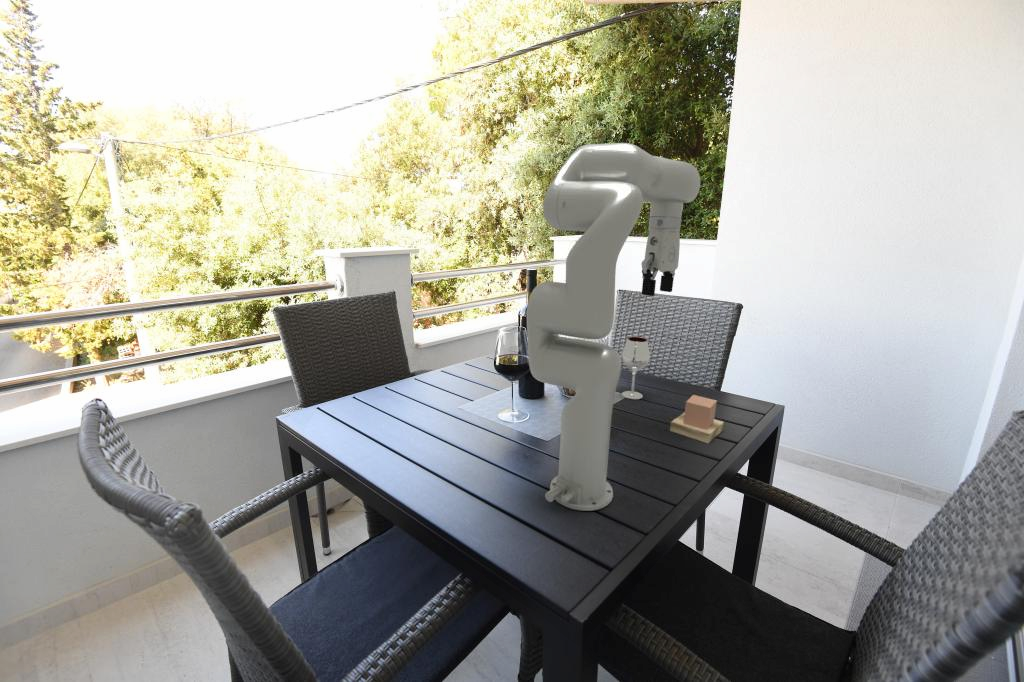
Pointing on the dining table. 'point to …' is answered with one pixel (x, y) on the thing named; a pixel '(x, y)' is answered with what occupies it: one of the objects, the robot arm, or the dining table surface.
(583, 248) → the robot arm
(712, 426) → the oak block
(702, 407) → the painted cube
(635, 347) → the wineglass
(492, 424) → the dining table surface
